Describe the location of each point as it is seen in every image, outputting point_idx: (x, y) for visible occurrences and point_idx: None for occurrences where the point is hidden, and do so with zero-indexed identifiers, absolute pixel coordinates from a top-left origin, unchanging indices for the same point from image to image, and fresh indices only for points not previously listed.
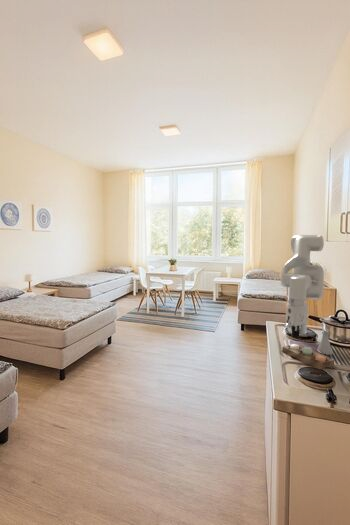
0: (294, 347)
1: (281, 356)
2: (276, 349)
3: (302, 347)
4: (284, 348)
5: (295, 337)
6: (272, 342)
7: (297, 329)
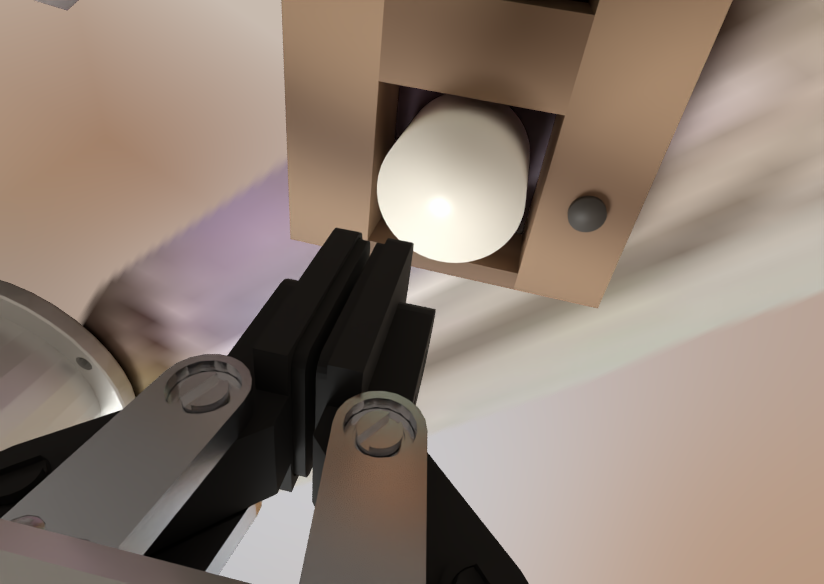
0: (520, 162)
1: (805, 184)
2: (585, 333)
3: (337, 101)
4: (612, 264)
5: (406, 280)
6: (428, 428)
7: (277, 415)
